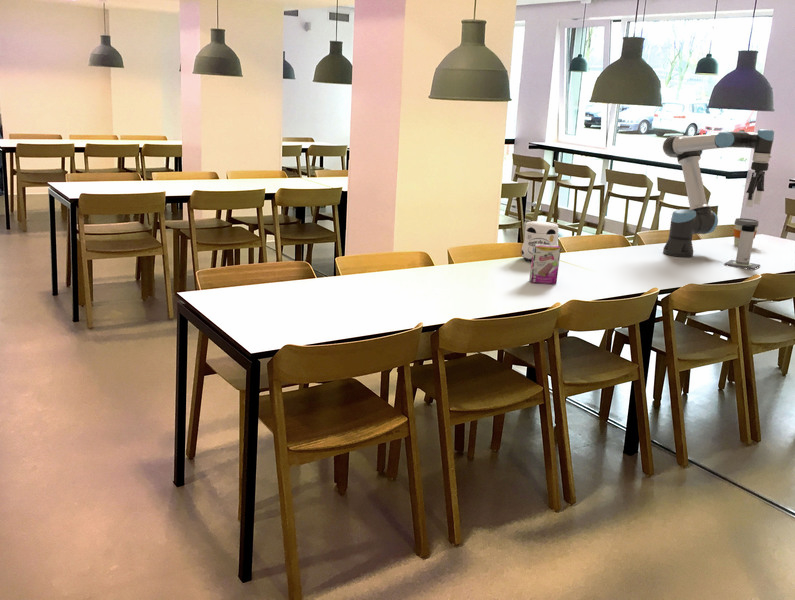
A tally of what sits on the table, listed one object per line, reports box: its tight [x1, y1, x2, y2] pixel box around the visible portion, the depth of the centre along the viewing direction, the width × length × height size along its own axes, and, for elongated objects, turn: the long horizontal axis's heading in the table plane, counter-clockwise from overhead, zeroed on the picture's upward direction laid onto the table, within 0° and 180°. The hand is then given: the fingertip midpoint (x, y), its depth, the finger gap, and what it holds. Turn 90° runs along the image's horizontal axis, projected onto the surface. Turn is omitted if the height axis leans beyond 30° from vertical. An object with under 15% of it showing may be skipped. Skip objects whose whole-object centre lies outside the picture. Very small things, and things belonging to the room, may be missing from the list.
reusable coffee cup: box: [733, 217, 759, 247], centre depth 438 cm, size 12×13×15 cm
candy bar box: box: [528, 244, 562, 285], centre depth 328 cm, size 11×5×16 cm, turn 92°
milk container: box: [521, 220, 559, 262], centre depth 371 cm, size 17×17×18 cm
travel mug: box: [735, 225, 758, 265], centre depth 383 cm, size 6×7×20 cm
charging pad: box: [723, 259, 761, 270], centre depth 386 cm, size 14×12×1 cm
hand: (752, 205), depth 378 cm, fingers open, 13 cm apart
